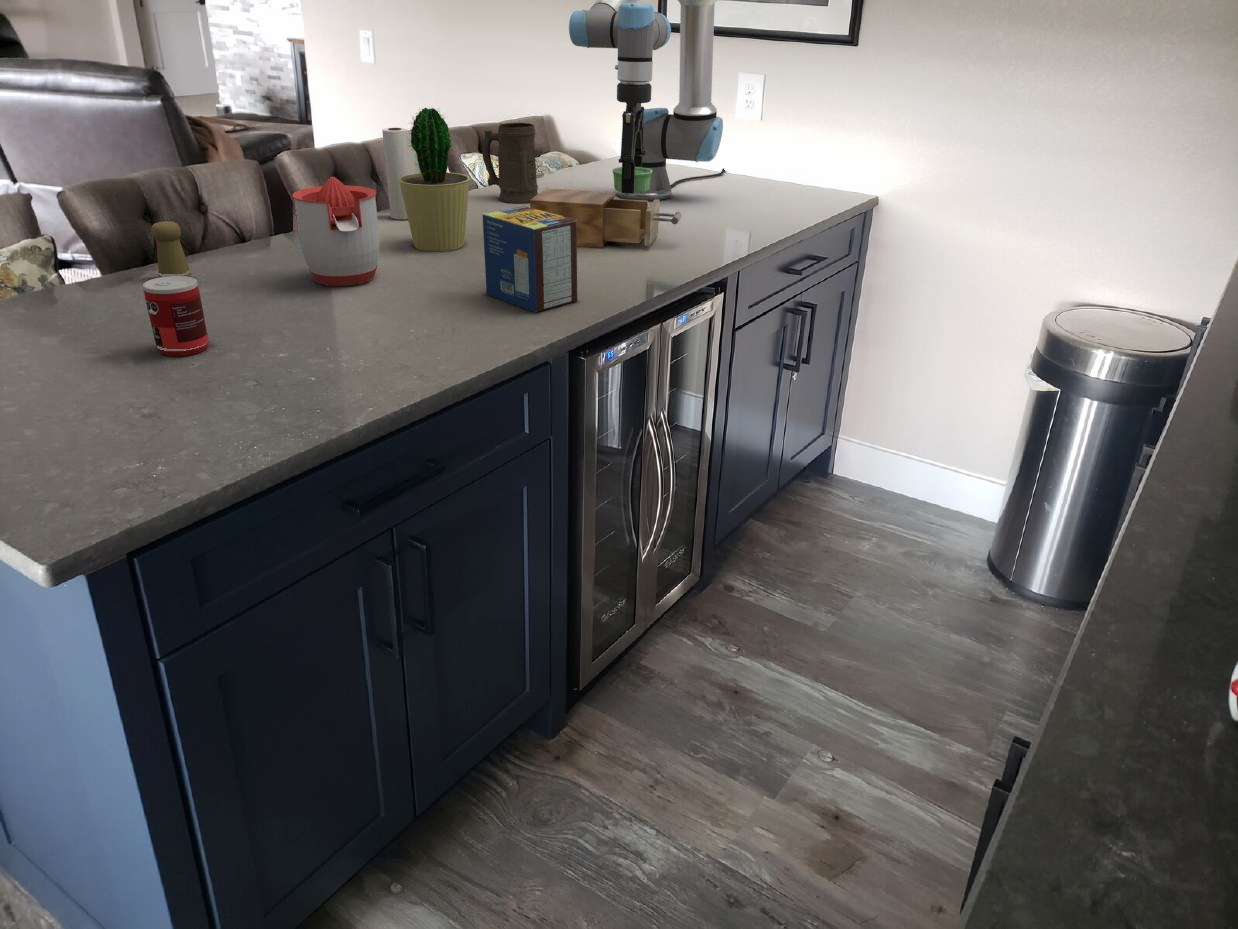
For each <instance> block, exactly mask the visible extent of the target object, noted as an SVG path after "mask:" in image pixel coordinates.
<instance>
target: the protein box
mask: <svg viewBox="0 0 1238 929" xmlns="http://www.w3.org/2000/svg"><path fill="white" fill-rule="evenodd" d="M482 232H483V251H484V252H483V254H484V272H485V273H484V274H485V293H486V294H487V295H489V296H491V297H493V298H497V299H498V300H502V301H504V302H506V303H510V304H513V305H515V306H518V307H520V308H523V309H526V310H528V311H531V312H533V313H539V312H542V311H546V310H551V309H553V308H557V307H560V306H565V305H567V304H572V303H575V302H578V246H577V220H576V219H573V218H568V217H564V216H560V215H556V214H552V213H548V212H545V211H541V210H537V209H533V208H530V206H525V205H524V206H523V205H522V206H518V207H517V206H516V207H512V208H508V209H502V210H501V209H500V210H496V211H491V212H484V213H482Z"/></svg>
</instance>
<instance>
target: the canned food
mask: <svg viewBox="0 0 1238 929" xmlns="http://www.w3.org/2000/svg"><path fill="white" fill-rule="evenodd" d="M142 291H143V296H144V300H145V304H146V308H147V312H148V317H149V321H150V325H151V330H152V334H153V339H154V343H155V346H156V345H157V346H159V347H162V348H167V349H190V348H195V347H197V346H202V345H203V344H205V343H206V342H208V339H209V334H208V329H207V324H206V318H205V313H204V308H203V302H202V298H201V292H200V287H199V283H198V280H197V279H196V278H194V277H192V278H191V277H186V276H168V277H160V278H159V277H156V278H152V279H149V280H147V281H145V282H144V283H143V284H142ZM209 342H210V341H209ZM209 342H208V343H207V344H206V345H204V346H202V347H199V348H196V349H192V350H186V351H164V350H160V349H158V348H157V347H156V349H157V351H158V352H159V354H161V355H164V356H166V357H167V356H169V357H187V356H194V355H197V354H200V353H202V352H204V351H206V350H207V349H208V348H209V344H210V343H209Z"/></svg>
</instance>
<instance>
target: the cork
mask: <svg viewBox="0 0 1238 929" xmlns="http://www.w3.org/2000/svg"><path fill="white" fill-rule="evenodd" d="M150 231H151V235H152V238H153V239H154V240H155V241H156V253H157V266H158V278H160V277H162V276H160V275H159V273H161V274H183V273H186V272H187V271H189V270H190V269H191V268H190V266H189V262H188V261H187V258H186V255H185V251H184V249H183V246H182V243H181V241H180V238H181V234H182V232H181V228H180V225H179V224H178V223H177V222H174V221H167V220H166V221H159V222H155V223H153V224H152V226H151V228H150ZM184 276H186V277H191V278H193V275H192V272H191V270H190V273H189V274H187V275H184Z"/></svg>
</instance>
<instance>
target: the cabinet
mask: <svg viewBox="0 0 1238 929" xmlns="http://www.w3.org/2000/svg"><path fill="white" fill-rule="evenodd" d="M615 194H616V193H615V192H614V191H613V192H612V191H597V190H582V189H566V188H565V189H563V188H550V187H549V188H548V187H547V188H546V187H545V188H544V189H543V190H542V191H540V192H539V193H538V195H536V196H535V197H534V198H532V199H531V200H530V202H529V208H533V209H537V210H541V211H545V212H548V213H552V214H556V215H560V216H564V217H568V218H573V219H576V220H577V247H583V248H596V249H597V248H598V249H602V248H604V246H605V245H607V243H608V241H603V207H604V206H605V205H606V204H607V203H608V202H609V201H610V200H611V199H615Z"/></svg>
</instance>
